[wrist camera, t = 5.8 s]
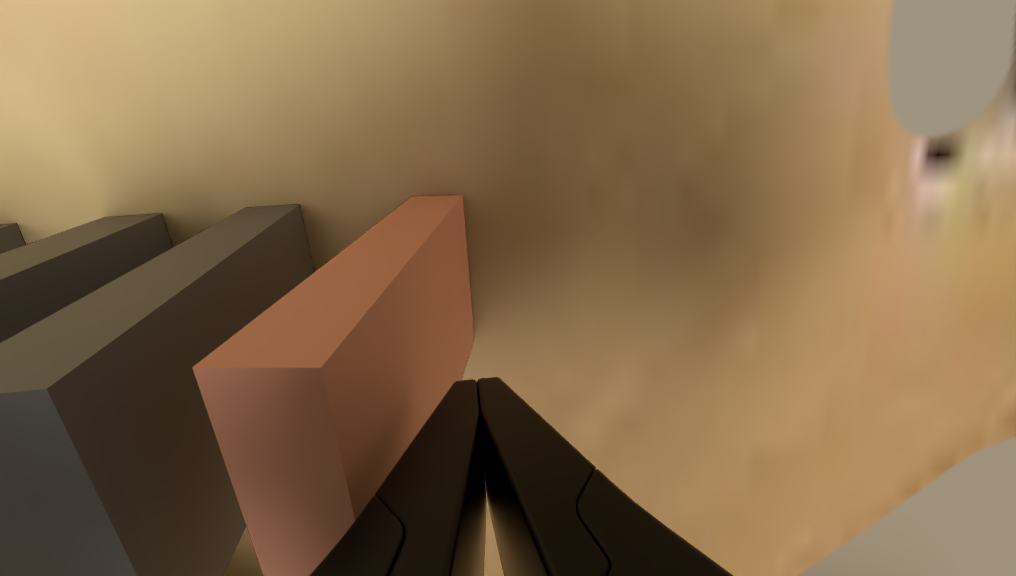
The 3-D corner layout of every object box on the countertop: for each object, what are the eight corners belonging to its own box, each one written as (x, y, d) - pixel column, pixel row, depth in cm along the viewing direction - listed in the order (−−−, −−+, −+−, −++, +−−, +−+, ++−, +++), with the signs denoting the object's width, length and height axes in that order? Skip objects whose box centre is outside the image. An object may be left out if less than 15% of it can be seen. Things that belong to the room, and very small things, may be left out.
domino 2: (299, 203, 15) (45, 388, 5) (329, 347, 17) (180, 665, 7) (245, 207, 14) (-111, 404, 5) (282, 351, 16) (67, 682, 7)
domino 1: (462, 194, 15) (320, 367, 6) (474, 338, 17) (382, 643, 7) (412, 196, 15) (191, 367, 6) (429, 338, 17) (285, 638, 8)
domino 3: (161, 213, 14) (-362, 428, 5) (209, 358, 16) (-110, 708, 7) (104, 217, 14) (-541, 445, 5) (158, 363, 16) (-235, 726, 7)
